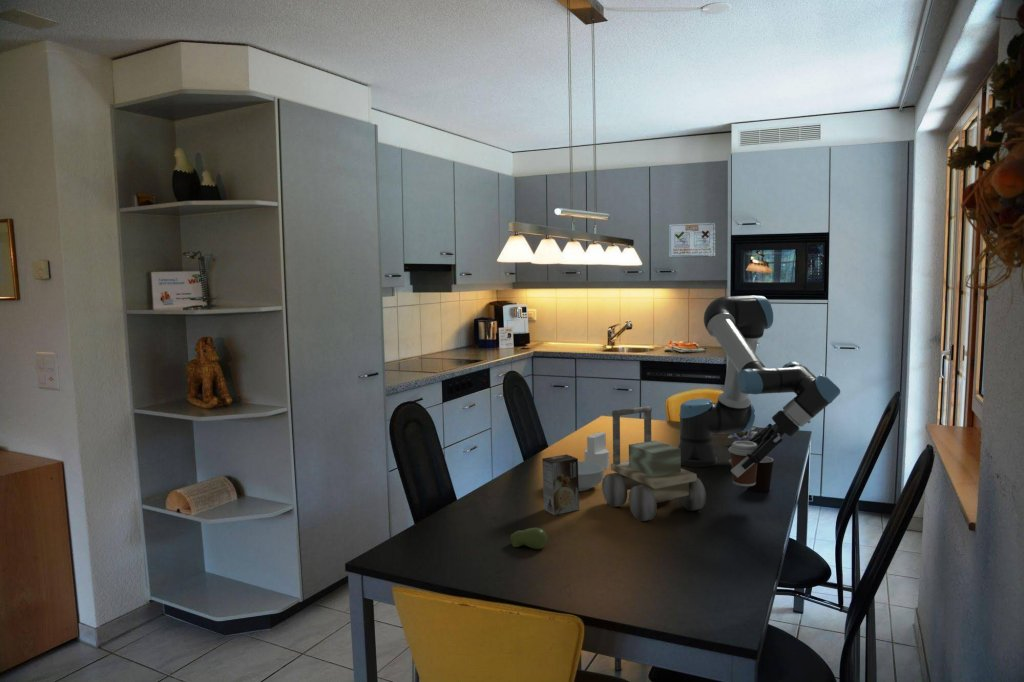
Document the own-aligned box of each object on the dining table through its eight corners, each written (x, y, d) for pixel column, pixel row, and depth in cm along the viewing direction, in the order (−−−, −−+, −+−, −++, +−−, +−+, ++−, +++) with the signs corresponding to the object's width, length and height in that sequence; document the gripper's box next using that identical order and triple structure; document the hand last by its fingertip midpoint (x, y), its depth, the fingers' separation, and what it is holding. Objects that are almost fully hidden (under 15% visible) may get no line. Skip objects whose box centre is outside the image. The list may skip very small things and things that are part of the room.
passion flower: (740, 460, 272) (722, 436, 273) (747, 449, 281) (729, 426, 282) (763, 448, 265) (745, 423, 267) (769, 437, 274) (751, 413, 275)
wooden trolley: (602, 501, 209) (601, 410, 207) (655, 491, 218) (654, 403, 216) (649, 526, 188) (649, 424, 185) (706, 513, 197) (706, 416, 194)
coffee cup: (727, 486, 197) (727, 446, 196) (728, 476, 206) (729, 438, 204) (760, 489, 194) (760, 448, 193) (760, 479, 202) (761, 440, 201)
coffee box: (568, 504, 208) (567, 453, 207) (579, 510, 202) (579, 458, 201) (542, 509, 204) (541, 457, 202) (553, 515, 198) (552, 462, 197)
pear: (539, 532, 171) (505, 533, 175) (543, 552, 171) (508, 552, 175) (548, 524, 176) (514, 525, 180) (551, 544, 176) (518, 544, 180)
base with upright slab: (601, 471, 242) (601, 438, 241) (580, 467, 248) (579, 435, 247) (613, 465, 250) (613, 434, 248) (592, 462, 255) (592, 431, 254)
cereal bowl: (613, 486, 225) (613, 465, 224) (584, 499, 212) (583, 477, 212) (573, 477, 236) (573, 457, 236) (543, 488, 224) (542, 468, 223)
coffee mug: (775, 493, 213) (775, 462, 212) (747, 492, 215) (747, 462, 214) (769, 482, 224) (769, 453, 223) (742, 481, 226) (742, 452, 225)
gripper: (807, 437, 184) (745, 490, 189) (794, 419, 205) (739, 467, 210) (787, 417, 184) (726, 470, 190) (776, 401, 205) (721, 450, 211)
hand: (732, 469), depth 200 cm, fingers closed on coffee cup, 9 cm apart
